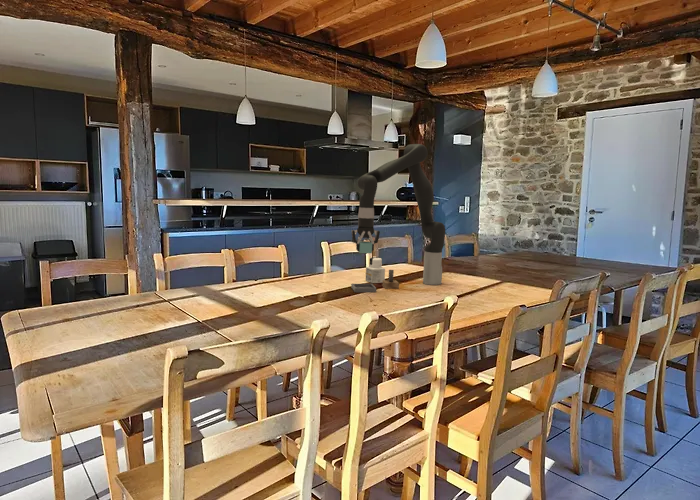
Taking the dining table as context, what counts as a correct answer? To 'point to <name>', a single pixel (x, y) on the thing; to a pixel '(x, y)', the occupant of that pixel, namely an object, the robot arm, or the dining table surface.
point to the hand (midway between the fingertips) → (364, 251)
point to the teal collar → (365, 247)
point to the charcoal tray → (363, 287)
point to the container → (375, 271)
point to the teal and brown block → (390, 282)
